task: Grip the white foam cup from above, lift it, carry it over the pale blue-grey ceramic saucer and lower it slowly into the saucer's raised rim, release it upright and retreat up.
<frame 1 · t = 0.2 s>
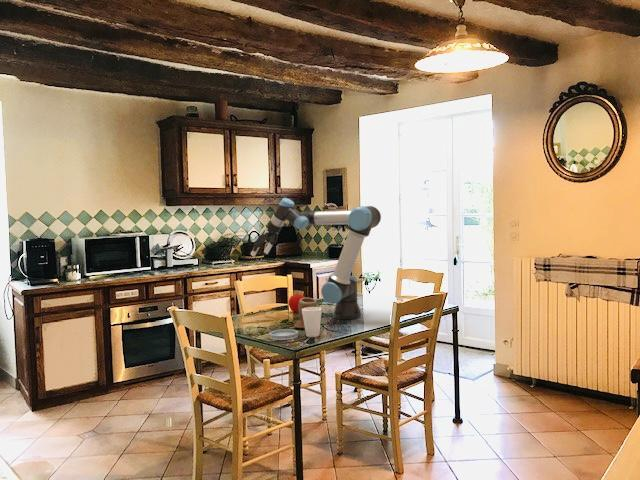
hand: (259, 254, 323), 36 cm above the table, tool tilted 35°, fingers open, 13 cm apart
tomato: (298, 312, 335), on the table
saucer: (283, 336, 275), on the table
foam cup: (312, 335, 275), on the table
stone cup: (307, 327, 295), on the table
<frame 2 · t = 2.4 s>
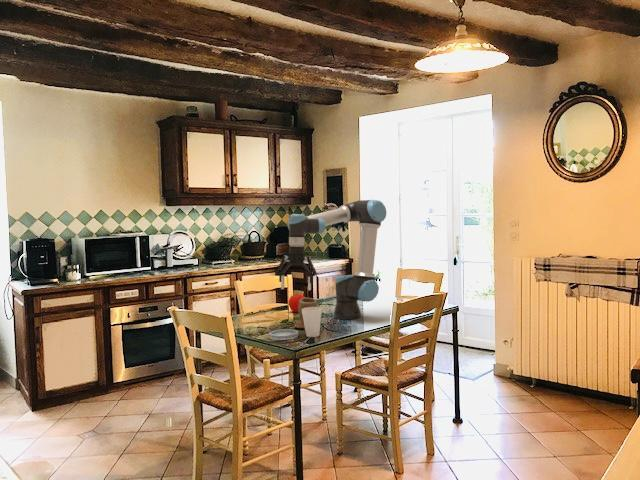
hand: (295, 289, 277), 22 cm above the table, tool pointing down, fingers open, 13 cm apart
nothing on the table moved.
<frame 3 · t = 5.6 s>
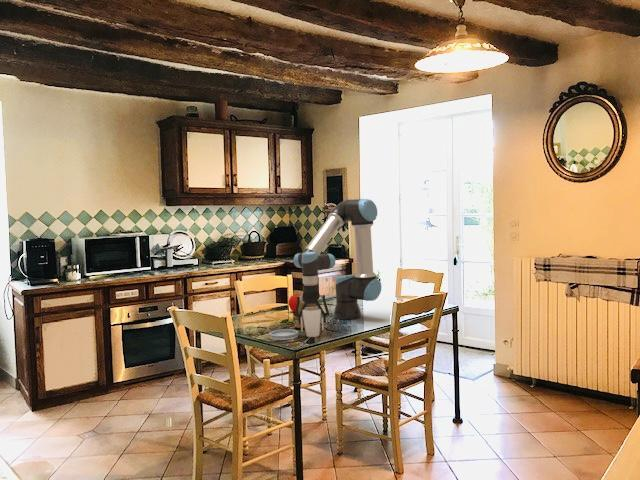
hand: (312, 330, 275), 3 cm above the table, tool pointing down, fingers closed on foam cup, 9 cm apart
foam cup: (312, 335, 275), on the table, touching gripper
everything else where it was.
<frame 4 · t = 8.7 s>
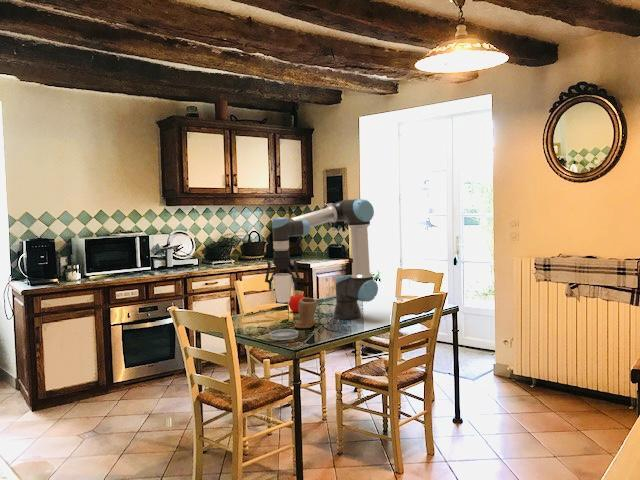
hand: (283, 296, 273), 20 cm above the table, tool pointing down, fingers closed on foam cup, 9 cm apart
foam cup: (283, 301, 273), point 17 cm above the table, touching gripper
everything else where it was.
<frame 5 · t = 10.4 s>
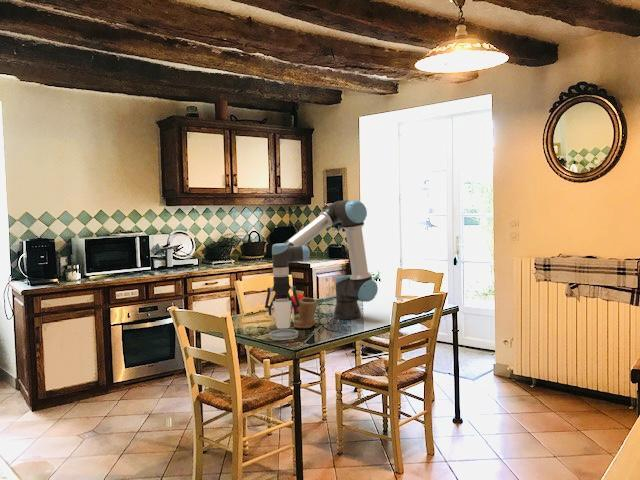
hand: (283, 321, 274), 7 cm above the table, tool pointing down, fingers closed on foam cup, 9 cm apart
foam cup: (283, 327, 274), point 4 cm above the table, touching gripper
everything else where it was.
when the fingers open (5 cm above the table, at t = 11.7 s): foam cup drops 1 cm, resting on saucer.
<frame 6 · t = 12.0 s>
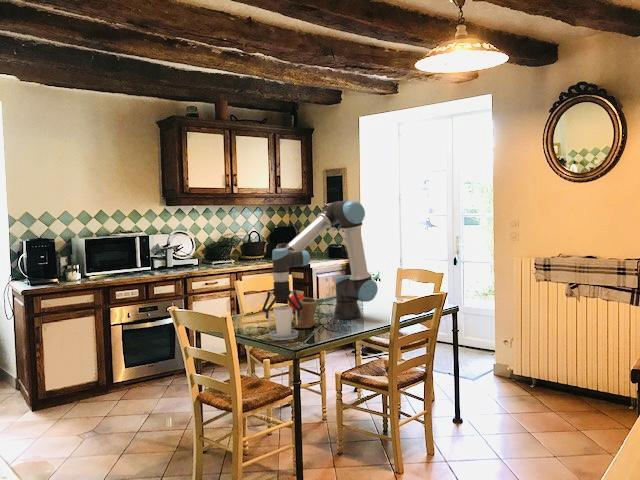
hand: (283, 324, 274), 6 cm above the table, tool pointing down, fingers open, 12 cm apart
foam cup: (283, 335, 275), point 1 cm above the table, touching saucer
everything else where it was.
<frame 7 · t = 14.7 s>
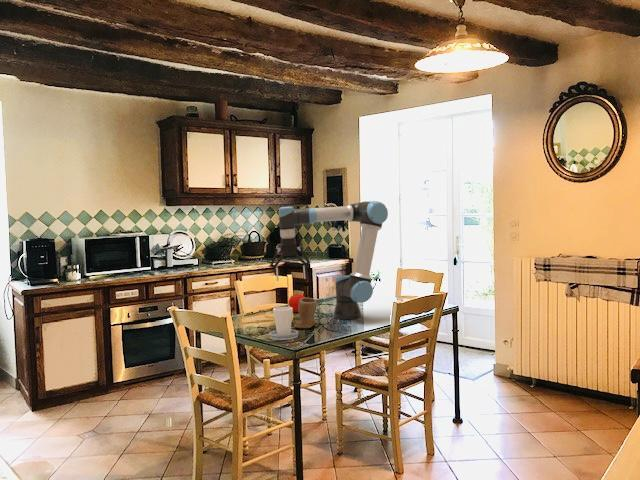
hand: (291, 279, 286), 26 cm above the table, tool pointing down, fingers open, 13 cm apart
nothing on the table moved.
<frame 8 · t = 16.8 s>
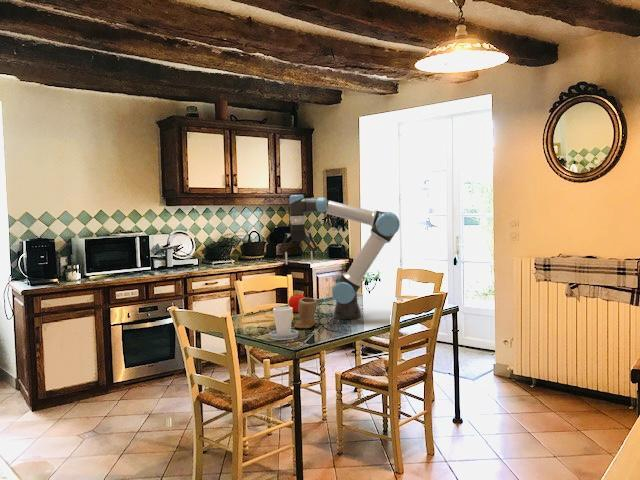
hand: (299, 263, 302), 32 cm above the table, tool pointing down, fingers open, 13 cm apart
nothing on the table moved.
at the end: foam cup 0.1 cm from the saucer (horizontally); foam cup tilted 0°; foam cup point 0.6 cm above the table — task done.
